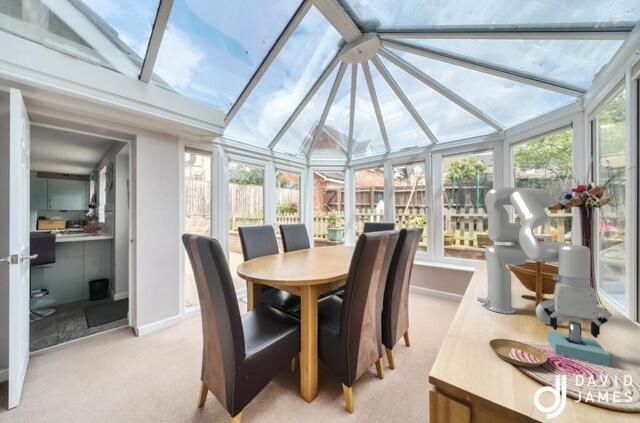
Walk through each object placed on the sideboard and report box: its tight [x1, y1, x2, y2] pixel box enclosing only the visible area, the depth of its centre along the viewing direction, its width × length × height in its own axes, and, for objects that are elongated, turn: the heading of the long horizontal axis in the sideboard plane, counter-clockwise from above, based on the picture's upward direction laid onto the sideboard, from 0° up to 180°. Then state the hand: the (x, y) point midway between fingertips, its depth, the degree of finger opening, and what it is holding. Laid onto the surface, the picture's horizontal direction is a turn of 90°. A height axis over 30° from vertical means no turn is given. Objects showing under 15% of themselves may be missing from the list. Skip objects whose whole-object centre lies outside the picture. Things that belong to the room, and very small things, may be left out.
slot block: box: [546, 330, 611, 368], centre depth 83 cm, size 12×12×4 cm
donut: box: [535, 303, 567, 326], centre depth 104 cm, size 10×4×10 cm, turn 71°
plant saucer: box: [488, 338, 548, 368], centre depth 80 cm, size 15×15×3 cm
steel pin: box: [568, 319, 583, 345], centre depth 83 cm, size 3×3×10 cm
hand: (573, 332), depth 84 cm, fingers open, 9 cm apart
